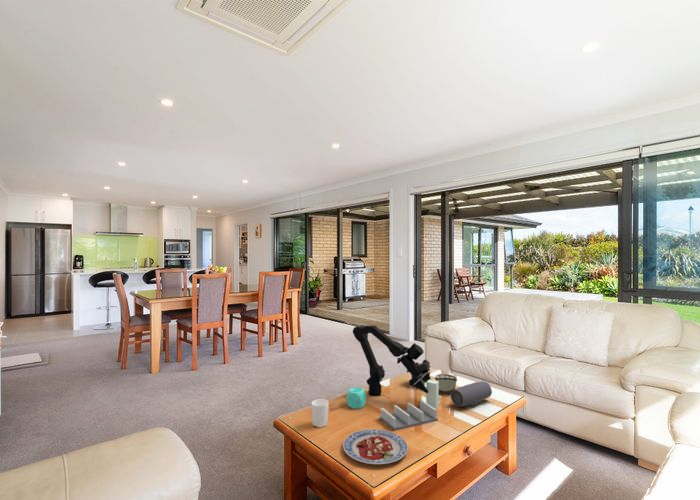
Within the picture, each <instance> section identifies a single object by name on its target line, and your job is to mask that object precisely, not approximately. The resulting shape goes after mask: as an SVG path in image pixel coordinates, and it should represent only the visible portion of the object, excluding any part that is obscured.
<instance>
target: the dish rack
mask: <svg viewBox="0 0 700 500" xmlns="http://www.w3.org/2000/svg"><path fill="white" fill-rule="evenodd" d="M406 405H407V406H406V410H403V409H402V408H400V407H399V406H398V405H395V404H394V405H393V406H394V407H393V411H394V413H390V412H389V411H387V410H386V409H385V408H384V407H381V408H380V415H379V419H380V420H381V421H382V422H383V424H385V425H386V426H388V427H389V428H390V429H392V431H394V432H395V431H398V430H399V431H400V430H403V429H407V428H412V427H416V426H420V425H426V424H429V423H434V422H437V421H439V419H438V417H437V415H438V413H437V412H438V411H437V409H438V408H437V409H435V408H433V407H432V406H430V405H429V404H427V403H426V401H424V400H422V399H420V400H419V407H416V406H415V405H414V404H412V403H410V402H407V404H406Z"/></svg>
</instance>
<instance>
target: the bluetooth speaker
mask: <svg viewBox="0 0 700 500" xmlns="http://www.w3.org/2000/svg"><path fill="white" fill-rule="evenodd" d="M492 393H493V390H492V387H491V384H490V383H488V382H487V381H477V382H472V383H470V384H465V385H462V386H460V387H457V388H455V389H454V390H453V391H452V392H451V396H450V400H451V402H452V403H453V405H455V406H457V407H471V406H475V405H477V404H479V403H480V402H482V401H483V400H484V401H485V400H486V399H488V398H490V397H491V396H492Z"/></svg>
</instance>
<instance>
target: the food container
mask: <svg viewBox="0 0 700 500" xmlns="http://www.w3.org/2000/svg"><path fill="white" fill-rule="evenodd" d="M434 380H435V381H439V396H450V397H451V392H452V391H453V390H454V389H456V386H457V385H456V384H457V382H458V379H457V377H456V376H455V375H453V374H449V373H448V374H447V373H439V374H436V375H435V377H434Z"/></svg>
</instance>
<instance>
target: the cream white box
mask: <svg viewBox="0 0 700 500" xmlns="http://www.w3.org/2000/svg"><path fill="white" fill-rule="evenodd" d="M425 387H426V388H427V390H428V393H425V394H426V397H425V398H426V401H425V403H427V404H429V405H430V406H432V407H433V408H435V409H438V408H439V406H440V405H439V404H440V403H439V401H440V398H439V397H440V395H439V381H436V379H431V380H428V381H427V382H425Z"/></svg>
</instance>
